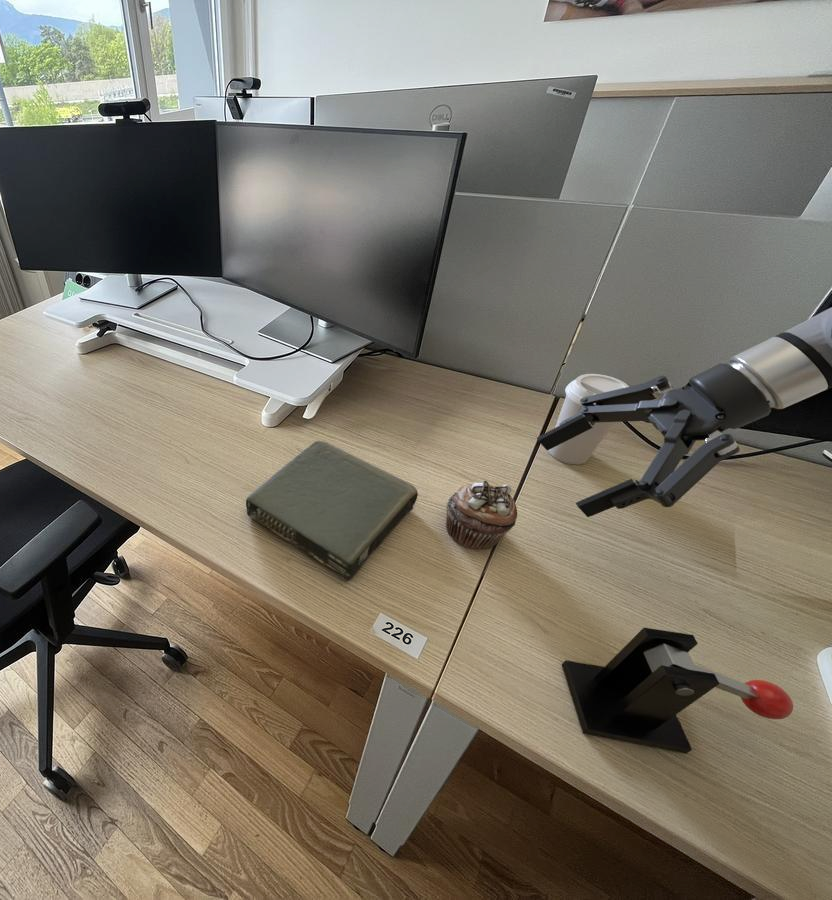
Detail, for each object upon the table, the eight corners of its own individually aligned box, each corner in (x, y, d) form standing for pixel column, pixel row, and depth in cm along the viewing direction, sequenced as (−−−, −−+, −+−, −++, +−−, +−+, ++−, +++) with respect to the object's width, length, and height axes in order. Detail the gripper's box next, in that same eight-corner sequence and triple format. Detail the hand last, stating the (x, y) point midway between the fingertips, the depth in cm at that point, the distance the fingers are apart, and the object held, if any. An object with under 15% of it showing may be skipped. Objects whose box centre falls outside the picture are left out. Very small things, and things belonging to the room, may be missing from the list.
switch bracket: (653, 680, 56) (717, 625, 48) (686, 754, 50) (766, 706, 42) (561, 664, 58) (607, 609, 50) (582, 733, 52) (639, 684, 44)
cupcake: (498, 512, 78) (518, 469, 71) (510, 559, 70) (533, 515, 64) (437, 505, 80) (451, 462, 73) (443, 549, 73) (458, 506, 66)
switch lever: (752, 693, 50) (788, 681, 48) (773, 728, 47) (813, 718, 45) (634, 647, 50) (665, 634, 47) (649, 681, 47) (683, 668, 45)
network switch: (236, 526, 79) (234, 506, 76) (305, 451, 93) (305, 431, 90) (363, 594, 68) (367, 573, 64) (420, 497, 81) (426, 476, 78)
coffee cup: (528, 440, 91) (557, 374, 81) (574, 434, 91) (609, 368, 82) (559, 473, 84) (596, 405, 74) (610, 466, 84) (653, 398, 74)
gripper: (852, 476, 46) (616, 559, 58) (694, 354, 65) (540, 435, 76) (831, 433, 43) (588, 529, 55) (672, 318, 62) (516, 408, 74)
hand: (559, 474), depth 66 cm, fingers open, 13 cm apart
